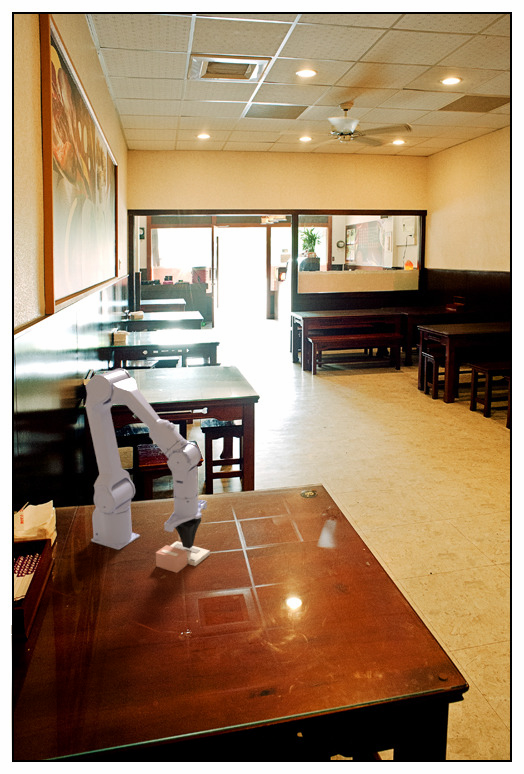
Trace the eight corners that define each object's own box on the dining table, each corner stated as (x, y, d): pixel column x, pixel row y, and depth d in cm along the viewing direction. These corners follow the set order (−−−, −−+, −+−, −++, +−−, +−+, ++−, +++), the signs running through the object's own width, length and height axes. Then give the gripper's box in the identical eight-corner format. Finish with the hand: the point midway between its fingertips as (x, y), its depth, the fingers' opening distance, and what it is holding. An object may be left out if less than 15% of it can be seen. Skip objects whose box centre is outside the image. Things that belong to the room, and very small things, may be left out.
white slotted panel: (161, 555, 135) (161, 551, 135) (176, 544, 140) (176, 540, 140) (195, 566, 130) (195, 561, 130) (209, 554, 136) (209, 550, 135)
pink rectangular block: (156, 566, 130) (155, 552, 130) (167, 558, 134) (166, 544, 133) (176, 572, 128) (176, 558, 127) (187, 564, 131) (186, 550, 130)
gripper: (180, 509, 125) (183, 564, 128) (216, 486, 137) (218, 537, 140) (156, 503, 128) (158, 556, 131) (193, 481, 140) (195, 531, 143)
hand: (187, 546), depth 136 cm, fingers closed
